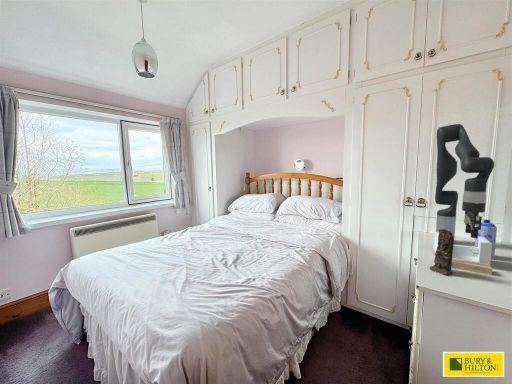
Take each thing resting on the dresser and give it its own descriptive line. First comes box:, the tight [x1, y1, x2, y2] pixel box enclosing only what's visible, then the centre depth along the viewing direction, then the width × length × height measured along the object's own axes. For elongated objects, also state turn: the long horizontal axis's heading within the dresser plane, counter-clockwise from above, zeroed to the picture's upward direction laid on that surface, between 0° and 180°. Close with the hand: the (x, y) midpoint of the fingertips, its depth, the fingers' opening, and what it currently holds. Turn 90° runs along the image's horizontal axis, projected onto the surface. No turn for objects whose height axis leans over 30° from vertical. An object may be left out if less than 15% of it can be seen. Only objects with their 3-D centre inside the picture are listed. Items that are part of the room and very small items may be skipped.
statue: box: [429, 229, 455, 276], centre depth 100 cm, size 7×7×20 cm
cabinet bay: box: [433, 231, 492, 266], centre depth 112 cm, size 12×19×12 cm, turn 58°
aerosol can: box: [474, 219, 498, 260], centre depth 115 cm, size 8×8×20 cm
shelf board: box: [451, 258, 493, 276], centre depth 103 cm, size 6×14×4 cm, turn 54°
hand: (471, 235), depth 101 cm, fingers open, 8 cm apart
